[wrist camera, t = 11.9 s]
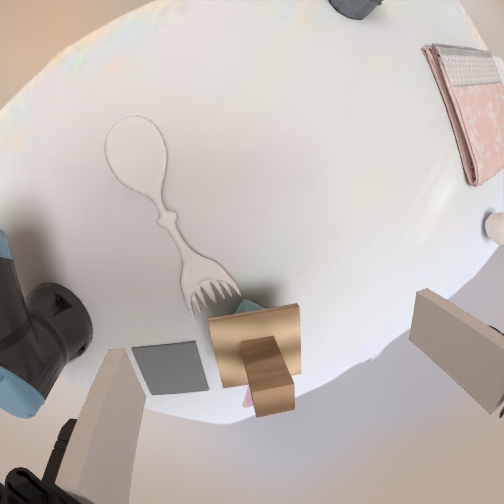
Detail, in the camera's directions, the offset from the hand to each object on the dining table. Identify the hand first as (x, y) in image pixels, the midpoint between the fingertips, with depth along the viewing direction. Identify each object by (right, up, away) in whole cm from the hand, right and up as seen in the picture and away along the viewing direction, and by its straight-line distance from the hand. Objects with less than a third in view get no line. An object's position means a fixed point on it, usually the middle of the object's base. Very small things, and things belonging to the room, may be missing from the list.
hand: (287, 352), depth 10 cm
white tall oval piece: (+60, +11, +40) cm, 73 cm away
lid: (-1, -9, +26) cm, 28 cm away
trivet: (-17, -18, +35) cm, 43 cm away
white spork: (-14, +10, +29) cm, 34 cm away
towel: (+57, +41, +32) cm, 77 cm away
